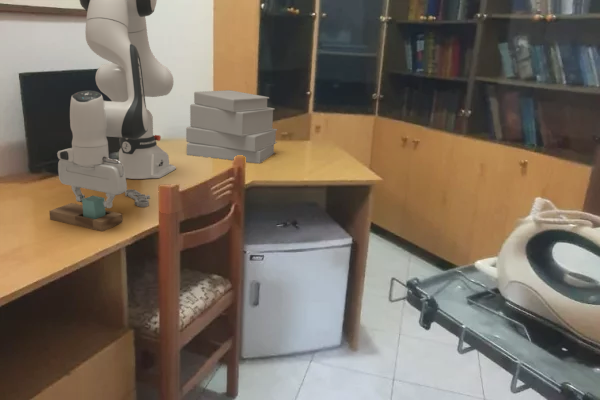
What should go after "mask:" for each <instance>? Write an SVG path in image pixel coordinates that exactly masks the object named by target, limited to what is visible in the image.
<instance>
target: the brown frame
mask: <svg viewBox="0 0 600 400" xmlns="http://www.w3.org/2000/svg"><path fill="white" fill-rule="evenodd" d="M48 214H49V219H50V221H51V220H52V221H55V222H60V223H65V224H68V225H74V226H77V227H82V228H86V229H90V230H96V231H99V232H104V231H106V230H110V229H111V228H113V227H116V226H118V225H120V224H122V223H123V218H124V217H123V213H119V212H115V211H110V210H106V209H105V216H102V217H100V218H97V219H92V218H87V217H83V205H82V204H78V203H74V202H69V203H68V204H64V205H62V206H59V207H55V208H53V209H50V210H49V213H48Z"/></svg>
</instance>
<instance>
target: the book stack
mask: <svg viewBox="0 0 600 400" xmlns="http://www.w3.org/2000/svg"><path fill="white" fill-rule="evenodd" d="M193 95H194V96H193V103H192V104H190V107H189V113H190V115H189V118H190V119H189V120H190V126H187V127H186V128H185V129H186V130H185V137H186V140H185V141H186V155H187V156H191V155H193V157H194V156H195V157H200V156H203V157H202V158H208V157H211V158H210V159H217V158H219V159H218V160H226V159H228V161H234V160H233V159H234V157H235V156H237V155H243V156H245V157H246V162H245V163H250V164H251V163H254V164H261V163H263V162H264V161H265V160H267V159H268V158H270V157H272V156H273V155H275V153H276V151H274V150H275V149H274V147H275V144H277V143H278V142H277V141H276V132H277V131H278V129H277V128H273V120H274V110H275V108H273V107H268V99H270V97H269V96H264V95H258V94H252V93H248V92H241V91H237V90H230V89H229V90H228V89H226V90H211V91H210V90H208V91H194V93H193Z"/></svg>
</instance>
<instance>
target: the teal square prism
mask: <svg viewBox="0 0 600 400" xmlns="http://www.w3.org/2000/svg"><path fill="white" fill-rule="evenodd" d="M104 201H106V198H105V197H102V196H98V195H90V196H88V197H87V196H86V197H85V198H84V199H82V202H81V203H82V204H81V205H83V217H87V218H92V219H97V218H100V217H102V216H105V210H106V208H105V207H104V204H103V202H104Z"/></svg>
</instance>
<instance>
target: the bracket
mask: <svg viewBox="0 0 600 400" xmlns="http://www.w3.org/2000/svg"><path fill="white" fill-rule="evenodd" d="M124 195H125V197H127V198H128V197H129V198H131V199H133V200H134V205H135V206H137V207H140V208H146V207H149V205H150V204H149V203H150V199H151V195H150V194H147V195H146V194H145V193H141V192H139V191H138V190H136V189H132V188H131V189H128V188H127V190H126V191H125V192H124Z"/></svg>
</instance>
